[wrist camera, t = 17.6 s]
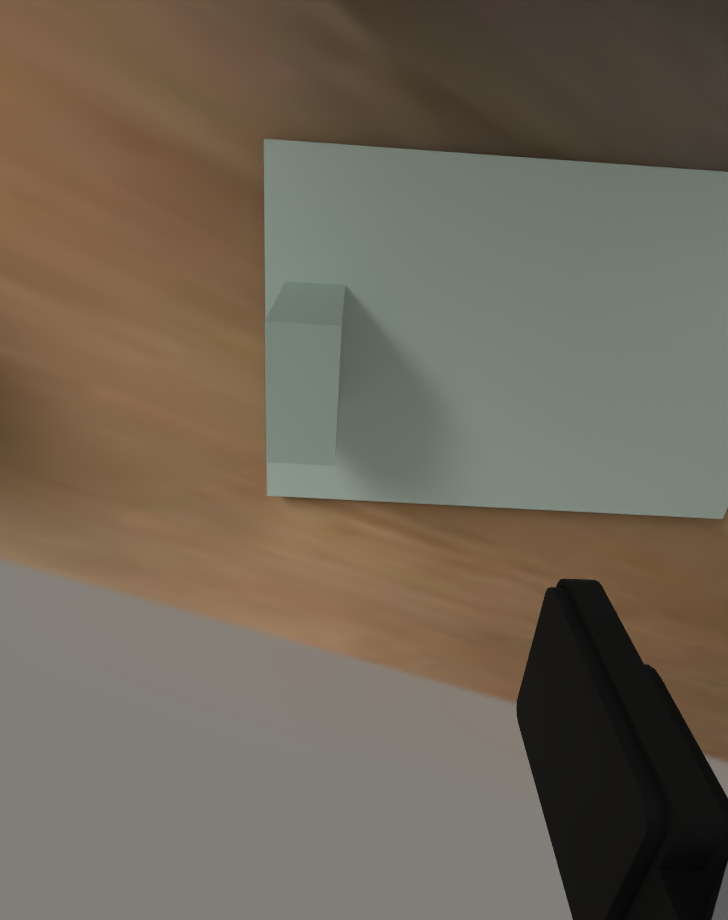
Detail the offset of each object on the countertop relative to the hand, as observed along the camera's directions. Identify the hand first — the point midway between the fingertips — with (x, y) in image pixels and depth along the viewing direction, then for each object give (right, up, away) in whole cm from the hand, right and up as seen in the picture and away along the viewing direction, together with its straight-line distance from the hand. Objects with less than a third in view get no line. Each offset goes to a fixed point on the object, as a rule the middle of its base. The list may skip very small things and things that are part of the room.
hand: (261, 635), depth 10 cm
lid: (+9, +8, +18) cm, 21 cm away
